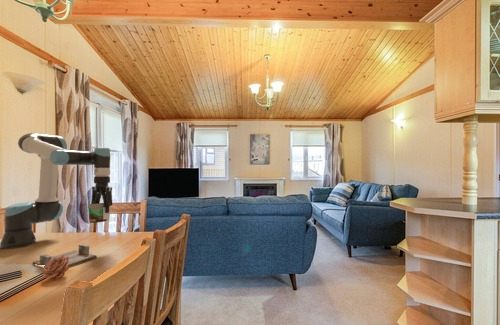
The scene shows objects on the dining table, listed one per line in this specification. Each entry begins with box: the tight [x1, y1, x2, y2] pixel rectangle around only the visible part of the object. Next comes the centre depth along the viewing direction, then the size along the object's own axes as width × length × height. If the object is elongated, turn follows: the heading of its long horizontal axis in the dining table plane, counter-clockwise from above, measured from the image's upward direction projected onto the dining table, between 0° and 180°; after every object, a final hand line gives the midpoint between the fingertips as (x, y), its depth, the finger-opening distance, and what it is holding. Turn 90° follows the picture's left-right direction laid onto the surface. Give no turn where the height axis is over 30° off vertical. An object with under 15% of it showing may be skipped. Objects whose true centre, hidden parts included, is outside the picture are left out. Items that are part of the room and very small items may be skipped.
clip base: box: [32, 243, 98, 268], centre depth 118 cm, size 18×18×5 cm
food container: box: [87, 202, 108, 224], centre depth 135 cm, size 12×6×10 cm, turn 168°
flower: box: [42, 255, 70, 281], centre depth 101 cm, size 10×9×8 cm
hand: (101, 218), depth 135 cm, fingers closed on food container, 7 cm apart
